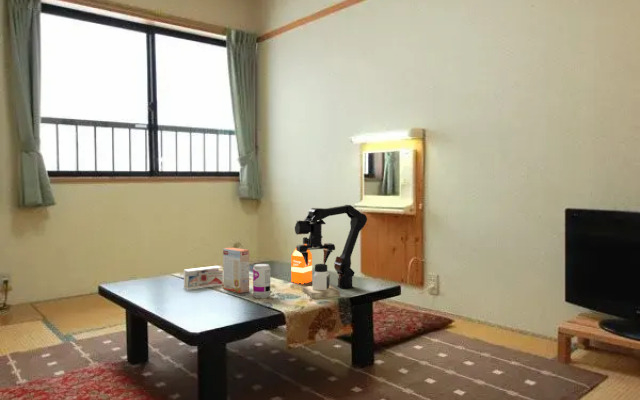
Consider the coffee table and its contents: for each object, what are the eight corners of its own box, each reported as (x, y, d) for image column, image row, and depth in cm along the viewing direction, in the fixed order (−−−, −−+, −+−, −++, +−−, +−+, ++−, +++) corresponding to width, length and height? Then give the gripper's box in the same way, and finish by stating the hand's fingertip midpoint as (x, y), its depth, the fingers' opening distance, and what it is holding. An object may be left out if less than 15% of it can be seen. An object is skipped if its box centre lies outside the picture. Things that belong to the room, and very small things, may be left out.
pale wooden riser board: (328, 289, 248) (328, 284, 248) (339, 296, 235) (339, 290, 235) (302, 291, 243) (302, 286, 243) (312, 298, 230) (312, 293, 230)
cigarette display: (187, 289, 247) (187, 271, 247) (183, 287, 252) (183, 269, 251) (224, 284, 259) (224, 266, 259) (220, 282, 264) (219, 265, 263)
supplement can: (256, 299, 228) (256, 267, 228) (250, 295, 236) (250, 264, 235) (273, 297, 232) (272, 265, 231) (266, 293, 239) (266, 262, 239)
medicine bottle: (326, 290, 235) (326, 265, 234) (312, 290, 236) (312, 265, 236) (329, 287, 242) (329, 263, 241) (315, 286, 243) (315, 262, 243)
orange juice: (312, 281, 268) (312, 244, 267) (303, 284, 260) (303, 246, 259) (300, 279, 272) (300, 243, 271) (291, 282, 265) (291, 245, 264)
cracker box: (250, 291, 243) (249, 249, 242) (240, 293, 239) (239, 251, 238) (232, 287, 253) (232, 246, 252) (222, 289, 248) (222, 247, 247)
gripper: (327, 231, 255) (327, 261, 256) (292, 232, 248) (292, 263, 249) (335, 233, 245) (335, 264, 246) (299, 235, 238) (299, 267, 239)
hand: (315, 264), depth 245 cm, fingers open, 9 cm apart
